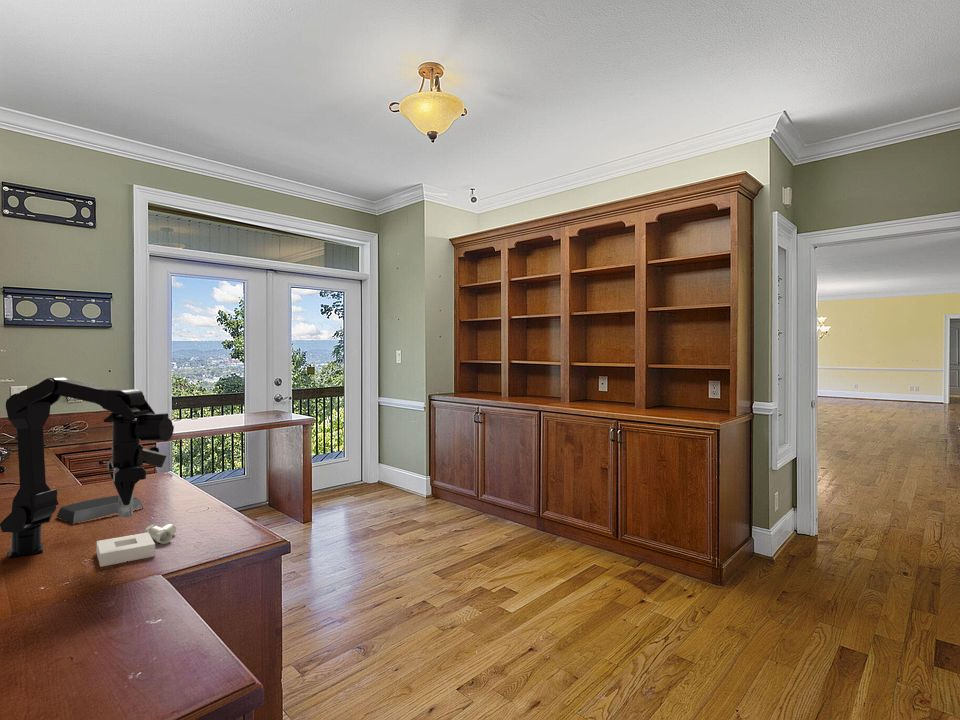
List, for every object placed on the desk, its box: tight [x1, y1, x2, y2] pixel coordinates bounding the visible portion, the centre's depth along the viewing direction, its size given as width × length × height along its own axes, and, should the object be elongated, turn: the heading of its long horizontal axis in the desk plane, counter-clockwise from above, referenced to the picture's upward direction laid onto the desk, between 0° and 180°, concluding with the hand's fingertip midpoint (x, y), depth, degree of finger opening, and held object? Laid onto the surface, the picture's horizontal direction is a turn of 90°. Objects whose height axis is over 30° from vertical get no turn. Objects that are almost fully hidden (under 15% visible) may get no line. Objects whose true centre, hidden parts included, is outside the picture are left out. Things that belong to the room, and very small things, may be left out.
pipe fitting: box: [144, 523, 177, 545], centre depth 143 cm, size 8×4×7 cm
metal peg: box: [117, 492, 134, 519], centre depth 131 cm, size 3×3×10 cm
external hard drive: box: [56, 494, 144, 524], centre depth 165 cm, size 13×19×4 cm
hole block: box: [96, 532, 156, 568], centre depth 131 cm, size 11×11×3 cm
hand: (125, 503), depth 131 cm, fingers closed on metal peg, 3 cm apart
